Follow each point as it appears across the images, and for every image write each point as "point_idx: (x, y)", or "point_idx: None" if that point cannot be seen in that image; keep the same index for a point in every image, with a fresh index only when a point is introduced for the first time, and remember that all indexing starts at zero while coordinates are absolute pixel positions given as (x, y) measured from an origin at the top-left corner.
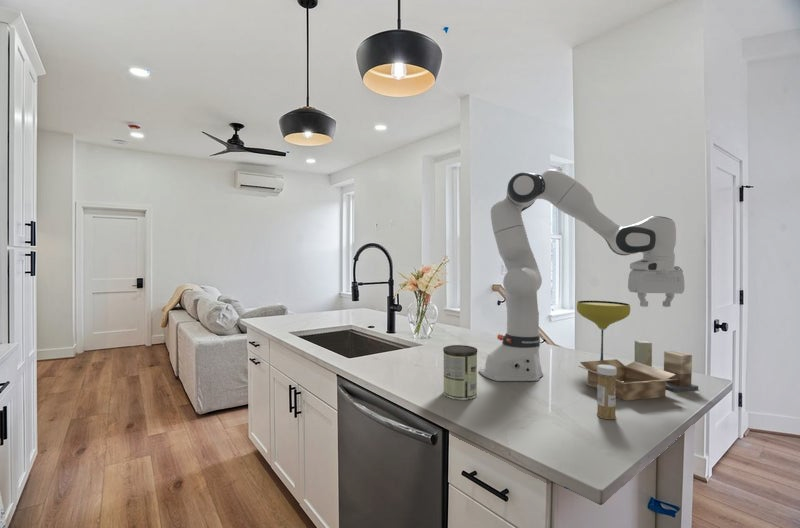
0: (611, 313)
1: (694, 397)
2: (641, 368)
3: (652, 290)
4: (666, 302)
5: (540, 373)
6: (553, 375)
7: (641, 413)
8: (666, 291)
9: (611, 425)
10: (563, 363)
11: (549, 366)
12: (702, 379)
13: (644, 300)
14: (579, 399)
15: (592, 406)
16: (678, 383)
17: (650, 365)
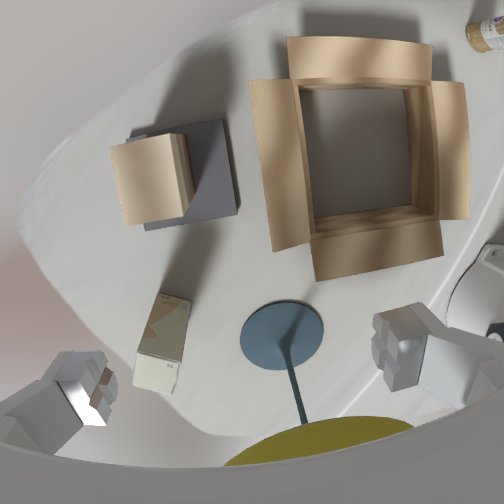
0: (382, 425)
1: (200, 72)
2: (291, 190)
3: (485, 435)
4: (88, 384)
5: (474, 272)
6: (438, 283)
7: (415, 21)
8: (71, 481)
9: (480, 13)
10: (348, 376)
11: None
12: (55, 228)
13: (460, 330)
14: (479, 121)
15: (476, 82)
16: (186, 140)
17: (157, 305)
